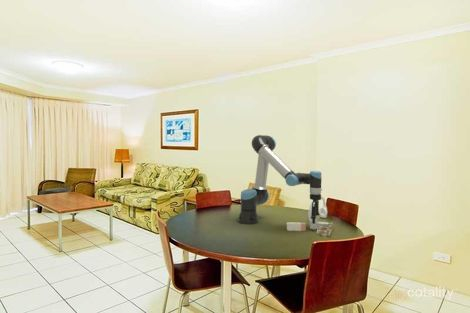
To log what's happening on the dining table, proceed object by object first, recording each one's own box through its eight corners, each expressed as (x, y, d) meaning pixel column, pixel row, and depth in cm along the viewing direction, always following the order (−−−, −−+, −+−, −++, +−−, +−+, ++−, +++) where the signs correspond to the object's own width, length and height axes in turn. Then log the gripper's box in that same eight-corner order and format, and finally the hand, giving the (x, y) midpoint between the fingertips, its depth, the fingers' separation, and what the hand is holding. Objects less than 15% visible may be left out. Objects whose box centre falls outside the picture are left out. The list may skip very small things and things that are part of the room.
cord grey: (309, 228, 197) (309, 222, 197) (310, 227, 202) (311, 220, 201) (328, 231, 192) (328, 224, 192) (328, 229, 196) (329, 222, 196)
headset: (313, 223, 212) (314, 199, 211) (305, 221, 217) (306, 197, 217) (328, 219, 225) (329, 196, 224) (320, 217, 230) (321, 195, 230)
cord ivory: (287, 230, 193) (287, 223, 193) (286, 228, 198) (286, 222, 197) (305, 231, 192) (305, 224, 192) (304, 229, 197) (304, 222, 196)
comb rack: (316, 235, 183) (316, 227, 183) (321, 226, 202) (321, 220, 202) (329, 236, 180) (329, 229, 180) (333, 228, 199) (333, 221, 198)
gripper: (318, 196, 186) (318, 231, 187) (323, 191, 206) (322, 223, 206) (306, 195, 189) (306, 229, 190) (312, 191, 209) (312, 222, 209)
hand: (314, 226), depth 198 cm, fingers open, 9 cm apart
